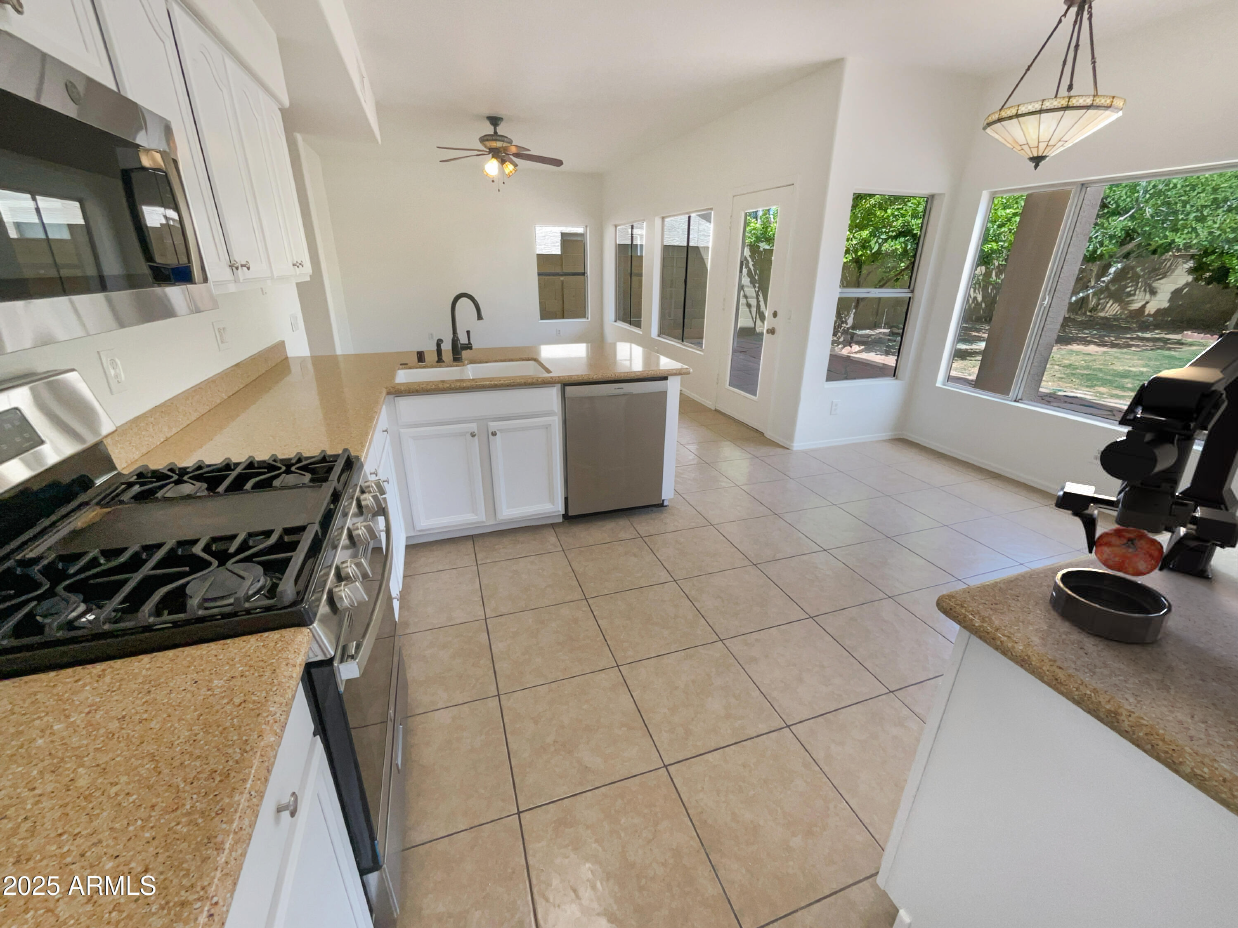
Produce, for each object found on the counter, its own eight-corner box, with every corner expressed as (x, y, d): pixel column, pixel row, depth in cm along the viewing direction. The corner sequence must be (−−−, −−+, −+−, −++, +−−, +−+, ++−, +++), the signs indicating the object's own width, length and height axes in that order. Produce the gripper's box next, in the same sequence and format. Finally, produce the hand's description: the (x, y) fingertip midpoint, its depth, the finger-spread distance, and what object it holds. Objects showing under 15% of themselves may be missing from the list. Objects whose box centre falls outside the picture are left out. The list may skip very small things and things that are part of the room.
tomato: (1087, 566, 83) (1078, 548, 77) (1114, 529, 83) (1107, 508, 77) (1146, 592, 77) (1141, 575, 71) (1176, 552, 77) (1173, 532, 71)
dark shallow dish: (1055, 584, 90) (1062, 559, 88) (1162, 615, 81) (1172, 588, 79) (1042, 619, 81) (1050, 592, 79) (1160, 658, 72) (1171, 629, 70)
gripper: (1062, 467, 73) (1037, 561, 79) (1264, 500, 61) (1218, 610, 66) (1072, 447, 81) (1049, 534, 86) (1255, 474, 68) (1214, 574, 73)
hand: (1123, 561), depth 78 cm, fingers closed on tomato, 7 cm apart
